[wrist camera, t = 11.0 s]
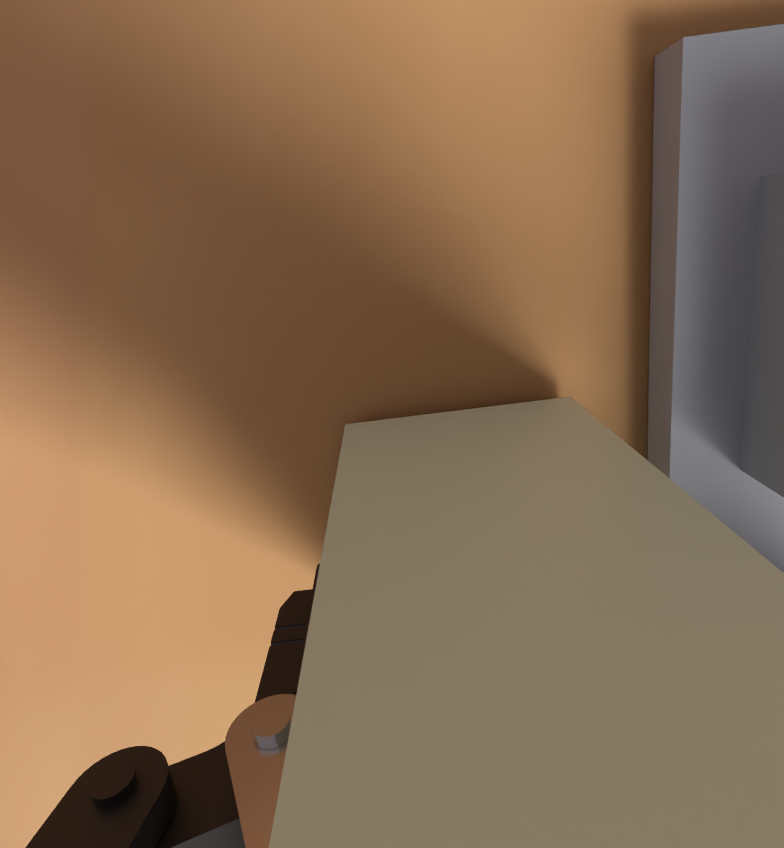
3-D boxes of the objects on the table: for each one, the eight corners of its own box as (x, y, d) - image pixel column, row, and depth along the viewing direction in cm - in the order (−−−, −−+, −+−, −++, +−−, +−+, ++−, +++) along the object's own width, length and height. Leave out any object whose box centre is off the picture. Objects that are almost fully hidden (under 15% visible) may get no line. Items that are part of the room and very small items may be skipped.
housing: (570, 396, 14) (1265, 972, 3) (575, 590, 16) (1028, 1402, 5) (345, 424, 14) (226, 1078, 3) (374, 613, 16) (365, 1465, 5)
